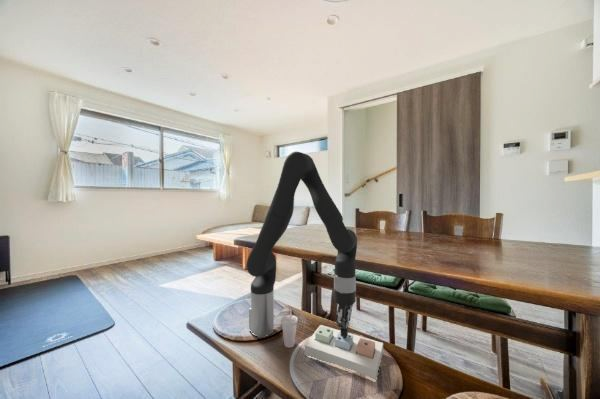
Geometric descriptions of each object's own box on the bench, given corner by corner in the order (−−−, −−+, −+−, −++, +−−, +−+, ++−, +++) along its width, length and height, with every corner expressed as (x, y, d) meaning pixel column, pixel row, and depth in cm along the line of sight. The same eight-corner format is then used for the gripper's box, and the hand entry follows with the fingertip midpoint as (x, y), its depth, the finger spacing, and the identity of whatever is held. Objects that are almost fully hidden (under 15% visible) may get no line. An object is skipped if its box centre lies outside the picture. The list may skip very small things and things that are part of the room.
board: (304, 356, 81) (304, 345, 81) (320, 334, 93) (320, 324, 93) (376, 382, 70) (376, 369, 70) (383, 354, 82) (383, 342, 82)
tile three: (335, 355, 81) (335, 338, 80) (339, 347, 85) (339, 331, 85) (349, 360, 78) (349, 343, 78) (353, 351, 83) (353, 335, 82)
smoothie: (295, 351, 84) (295, 313, 83) (278, 348, 85) (278, 311, 84) (299, 340, 90) (299, 304, 89) (283, 337, 91) (283, 302, 91)
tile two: (315, 348, 84) (315, 332, 84) (320, 340, 88) (320, 325, 88) (328, 353, 82) (328, 336, 82) (333, 345, 86) (333, 329, 86)
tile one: (356, 363, 77) (356, 345, 77) (360, 353, 82) (360, 337, 81) (372, 368, 75) (372, 350, 75) (374, 358, 79) (375, 341, 79)
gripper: (340, 279, 88) (339, 323, 89) (327, 292, 77) (327, 343, 77) (360, 282, 85) (359, 329, 86) (350, 297, 73) (349, 351, 74)
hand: (344, 336), depth 81 cm, fingers closed
